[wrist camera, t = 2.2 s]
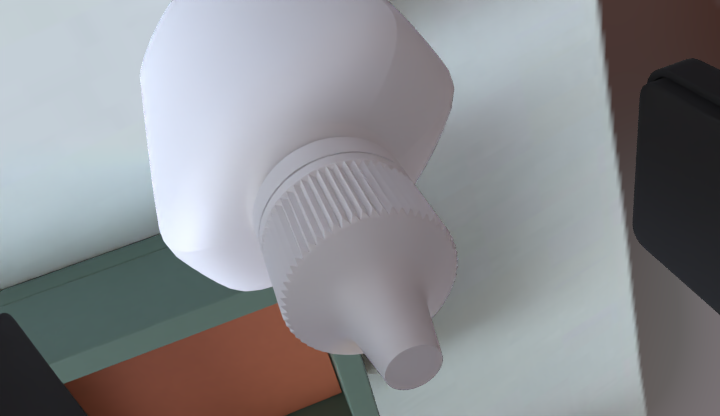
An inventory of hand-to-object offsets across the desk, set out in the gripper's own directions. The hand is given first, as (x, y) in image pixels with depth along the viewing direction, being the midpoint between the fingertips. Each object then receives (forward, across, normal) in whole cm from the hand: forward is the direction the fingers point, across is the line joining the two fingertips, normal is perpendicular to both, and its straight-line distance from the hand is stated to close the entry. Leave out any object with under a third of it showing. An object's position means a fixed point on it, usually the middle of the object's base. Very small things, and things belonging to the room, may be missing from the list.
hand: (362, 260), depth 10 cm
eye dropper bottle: (+10, 0, -1) cm, 10 cm away
